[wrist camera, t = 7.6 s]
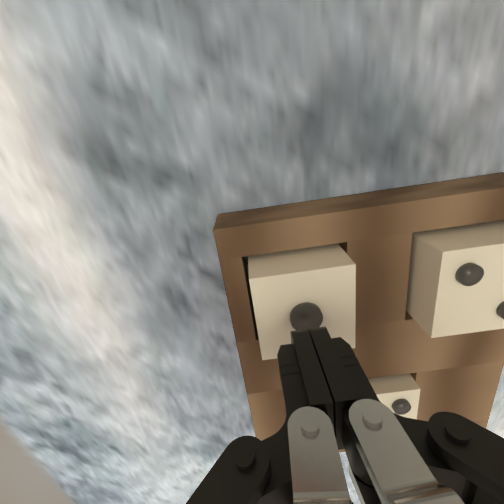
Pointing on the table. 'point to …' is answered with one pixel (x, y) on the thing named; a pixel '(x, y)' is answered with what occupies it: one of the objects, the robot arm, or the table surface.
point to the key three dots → (398, 394)
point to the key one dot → (302, 294)
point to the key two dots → (457, 279)
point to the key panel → (370, 291)
